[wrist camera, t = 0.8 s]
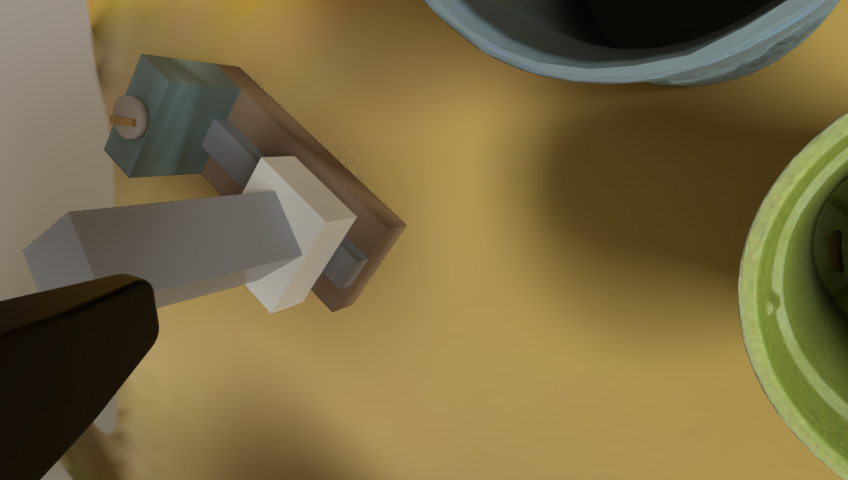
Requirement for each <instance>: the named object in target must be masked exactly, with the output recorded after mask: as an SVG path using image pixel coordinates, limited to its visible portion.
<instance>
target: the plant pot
mask: <svg viewBox="0 0 848 480" xmlns="http://www.w3.org/2000/svg"><path fill="white" fill-rule="evenodd" d="M838 230H839V231H841V233H842V235H841V255H842V262H843V266H844V272H842V273H840V272H838V271H836V270H834V269H833V268H832V265H831V261H830V253H829V248H828V242H829V239H828V238H829V236H830V235H832V233H833V232H834V231H838ZM738 311H739V318H740V325H741V331H742V336H743V340H744V344H745V348H746V351H747V354H748V357H749V360H750V363H751V365H752V368H753V370H754V372H755V375H756V377H757V379H758V381H759V383H760V385H761V387H762V389H763V391H764V392H765V394H766V396H767V397H768V399H769V401H770V402H771V404H772V405H773V407H774V408H775V410H776V412H777V413H778V415H779V416H780V417H781V418H782V419H783V421H784V422H785V424H786V425H787V426H788V427H789V429H790V430H791V431H792V432H793V433H794V434H795V436H796V437H797V438H798V439H799V440H800V441H801V442H802V443H803V444H804V445H805V446H806V447H807V448H808V449H809V450H810V451H811V452H812V453H813V454H814V455H815V456H816V457H817V458H818V459H820V460H821V461H822V462H823V463H824V464H826V465H827V466H828V467H829V468H831V469H832V470H833V471H834V472H835V473H837V474H838V475H839V476H840V477H842V478H843V479H844V480H848V111H847V112H846V113H844V114H843V115H842V116H840V117H839V118H837V119H836V120H835V121H833V122H832V123H831V124H829V125H828V126H827V127H826V128H825V129H824V130H822V131H821V132H820V133H819V134H817V135H816V136H815V137H814V138H813V139H812V140H811V141H810V142H809V143H808V144H807V145H806V146H805V147H804V148H803V149H802V150H801V151H800V152H799V153H798V154H797V155H796V156H795V157H794V158H793V159H792V160H791V161H790V163H789V164H788V165H787V166H786V167H785V169H784V170H783V171H782V172H781V174H780V175H779V177H778V178H777V179H776V181H775V182H774V183H773V185H772V186H771V188H770V190H769V191H768V193H767V194H766V196H765V197H764V199H763V201H762V203H761V205H760V206H759V208H758V210H757V213H756V215H755V217H754V220H753V222H752V224H751V227H750V229H749V232H748V235H747V238H746V241H745V245H744V249H743V253H742V257H741V262H740V270H739V278H738Z"/></svg>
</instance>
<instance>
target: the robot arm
mask: <svg viewBox="0 0 848 480" xmlns="http://www.w3.org/2000/svg"><path fill="white" fill-rule="evenodd" d="M158 333H159V322H158V315H157V308H156V302H155V295H154V289H153V287H152V285H151V283H150V282H148V281H147V280H145V279H142V278H139V277H136V276H133V275H130V274H116V275H111V276H107V277H103V278H98V279H94V280H90V281H85V282H81V283H77V284H72V285H68V286H64V287H60V288H55V289H51V290H47V291H42V292H39V293H34V294H30V295H25V296H21V297H16V298H12V299H8V300H3V301H0V480H40V479H41V478H42V477H43V476H44V475H45V474H46V473H47V472H48V471H49V470H50V469H51V468H52V467H53V465H54V464H55V463H56V462H57V461H58V460H59V459H60V458H61V457H62V456H63V455H64V454H65V453H66V452H67V451H68V450H69V449H70V447H71V446H72V445H73V444H74V443H75V442H76V441H77V440H78V439H79V438H80V437H81V435H82V434H83V433H84V432H85V431H86V430H87V429H88V427H89V426H90V425H91V424H92V423H93V421H94V420H95V419H96V418H97V416H98V415H99V414H100V413H101V411H102V410H103V409H104V408H105V406H106V405H107V404H108V402H109V401H110V400H111V399H112V397H113V396H114V395H115V393H116V392H117V391H118V390H119V388H120V387H121V386H122V385H123V383H124V382H125V381H126V379H127V378H128V377H129V376H130V374H131V373H132V372H133V370H134V369H135V368H136V367H137V365H138V364H139V363H140V362H141V360H142V359H143V358H144V356H145V355H146V354H147V353H148V351H149V350H150V349H151V347H152V346H153V345H154V343H155V341H156V339H157V337H158Z"/></svg>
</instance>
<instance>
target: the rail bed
mask: <svg viewBox="0 0 848 480" xmlns="http://www.w3.org/2000/svg"><path fill="white" fill-rule="evenodd" d="M110 123H114V126H113V128H112V131H111V133H110V136H109V138H108V141H107V144H106V146H105V148H104V150H105V152H106V153H107V154H108V155H109V156H110V157H111V158H112V159H113V161H114V162H115V163H116V164H117V165H118V166H119V167H120V168H121V169H122V171H123V172H124V173H125V174H126V175H127V176H128V177H129V178H132V177H149V176H166V175H183V174H200V173H201V174H202V175H203V176H204V177H205V179H206V180H207V181H208V182H209V183H210V184H211V185H212V186H213V187H214V188H215V189H216V190H217V191H218V192H219V193H220V194H221V195H222V196H229V195H239V194H242V193H243V191H244V189H245V187H246V185H247V183H248V181H249V179H250V178H251V176H252V174H253V172H254V170H255V168H256V166H257V164H258V162H259V160H260V159H261V157H283V156H295V157H296V158H297V159H298V160H299V161H300V162H301V163H302V164H303V165H304V166H305V167H306V168H307V169H308V170H309V171H310V172H311V173H312V174H313V175H315V176H316V177H317V178H318V179H319V180H320V181H321V182H322V183H323V184H324V185H325V186H326V187H327V188H328V189H329V190H330V191H331V192H332V193H333V194H334V195H335V196H336V197H337V198H338V199H339V200H340V201H341V202H342V203H343V204H344V205H345V206H346V207H348V208H349V209H350V210H351V211H352V212H353V213H354V214H355V215H356V216H357V218H356V219H355V221H354V223H353V224H352V226H351V227H350V229H349V230H348V232H347V233H346V235H345V237H344V238H343V240H342V241H341V243H340V244H339V246H338V248H337V249H336V251H335V252H334V254H333V255H332V257H331V259H330V260H329V262H328V263H327V265H326V266H325V268H324V269H323V271H322V273H321V274H320V276H319V277H318V279H317V280H316V282H315V284H314V285H313V287H312V288H311V290H312V291H313V292H314V293H315V294H316V295H317V297H318V298H319V299H320V300H321V301H322V302H323V303H324V304H325V305H326V306H327V307H328V308H329V309H330V310H331V311H332V312H334V311H337V310H340V309H342V308H345V307H347V306H350V305H352V304H353V302H354V301H355V299H356V298H357V297H358V295H359V294H360V292H361V291H362V289H363V288H364V286H365V285H366V283H367V282H368V281H369V279H370V278H371V276H372V275H373V273H374V272H375V270H376V269H377V267H378V266H379V265H380V263H381V262H382V260H383V259H384V257H385V256H386V254H387V253H388V251H389V250H390V249H391V247H392V246H393V244H394V243H395V241H396V240H397V238H398V237H399V235H400V234H401V233H402V231H403V230H404V228H405V227H406V224H405V223H404V222H403V221H402V220H400V219H399V218H398V217H397V216H396V215H395V214H394V213H393V212H392V211H391V210H390V209H389V208H388V207H387V206H386V205H385V204H383V203H382V202H381V201H380V200H379V199H378V198H377V197H376V196H375V195H374V194H373V193H372V192H371V191H370V190H369V189H368V188H367V187H365V186H364V185H363V184H362V183H361V182H360V181H359V180H358V179H357V178H356V177H355V176H354V175H353V174H352V173H351V172H350V171H349V170H347V169H346V168H345V167H344V166H343V165H342V164H341V163H340V162H339V161H338V160H337V159H336V158H335V157H334V156H333V155H332V154H331V153H329V152H328V151H327V150H326V149H325V148H324V147H323V146H322V145H321V144H320V143H319V142H318V141H317V140H316V139H315V138H314V137H312V136H311V135H310V134H309V133H308V132H307V131H306V130H305V129H304V128H303V127H302V126H301V125H300V124H299V123H298V122H297V121H296V120H294V119H293V118H292V117H291V116H290V115H289V114H288V113H287V112H286V111H285V110H284V109H283V108H282V107H281V106H280V105H279V104H278V103H276V102H275V101H274V100H273V99H272V98H271V97H270V96H269V95H268V94H267V93H266V92H265V91H264V90H263V89H262V88H261V87H260V86H258V85H257V84H256V83H255V82H254V81H253V80H252V79H251V78H250V77H249V76H248V75H247V74H246V73H245V72H244V71H243V70H241V69H240V68H239V67H234V66H226V65H219V64H212V63H204V62H197V61H189V60H182V59H175V58H167V57H160V56H152V55H145V54H141V57H140V59H139V62H138V64H137V67H136V70H135V72H134V75H133V77H132V80H131V82H130V85H129V87H128V90H127V92H126V95H125V96H122V97H120V98H119V99H118V100H117V102H116V103H115V106H114V110H113V116H110Z"/></svg>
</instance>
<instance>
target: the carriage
mask: <svg viewBox="0 0 848 480" xmlns="http://www.w3.org/2000/svg"><path fill="white" fill-rule="evenodd" d="M356 218H357V216H356V215H355V214H354V213H353V212H352V211H351V210H350V209H349V208H348V207H346V206H345V205H344V204H343V203H342V202H341V201H340V200H339V199H338V198H337V197H336V196H335V195H334V194H333V193H332V192H331V191H330V190H329V189H328V188H327V187H326V186H325V185H324V184H323V183H322V182H321V181H320V180H319V179H318V178H317V177H316V176H315V175H313V174H312V173H311V172H310V171H309V170H308V169H307V168H306V167H305V166H304V165H303V164H302V163H301V162H300V161H299V160H298V159H297V158H296V157H295V156H283V157H261V159H260V160H259V162H258V164H257V166H256V168H255V170H254V172H253V174H252V176H251V178H250V179H249V181H248V183H247V185H246V187H245V189H244V191H243V193H242V194H239V195H229V196H219V197H209V198H200V199H190V200H180V201H170V202H161V203H151V204H141V205H131V206H122V207H112V208H102V209H93V210H83V211H73V212H68V213H66V214H65V215H64V216H63V217H62V218H61V219H59V220H58V221H57V222H56V223H55V224H53V225H52V226H51V227H50V228H49V229H48V230H47V231H45V232H44V233H43V234H42V235H41V236H39V237H38V238H37V239H36V240H35V241H33V242H32V243H31V244H30V245H29V246H28V247H26V248H25V249H24V250H23V252H24V255H25V257H26V259H27V262H28V265H29V267H30V270H31V272H32V275H33V277H34V280H35V283H36V285H37V288H38V290H39V292H42V291H47V290H51V289H55V288H60V287H64V286H68V285H72V284H77V283H81V282H85V281H90V280H94V279H98V278H103V277H107V276H111V275H116V274H130V275H133V276H136V277H139V278H142V279H145V280H147V281H148V282H150V283H151V285H152V287H153V289H154V295H155V302H156V308H160V307H163V306H167V305H171V304H174V303H178V302H182V301H185V300H189V299H193V298H196V297H200V296H204V295H207V294H211V293H215V292H218V291H222V290H225V289H229V288H233V287H236V286H240V285H245V286H246V287H247V288H248V289H249V290H250V291H251V292H252V293H253V295H254V296H255V297H256V298H257V299H258V300H259V301H260V302H261V303H262V304H263V306H264V307H265V308H266V309H267V310H268V311H269V312H270V313H274V312H276V311H279V310H282V309H285V308H288V307H291V306H294V305H297V304H300V303H302V302H303V301H304V299H305V298H306V296H307V295H308V293H309V291H310V290H311V288H312V287H313V285H314V284H315V282H316V280H317V279H318V277H319V276H320V274H321V273H322V271H323V269H324V268H325V266H326V265H327V263H328V262H329V260H330V259H331V257H332V255H333V254H334V252H335V251H336V249H337V248H338V246H339V244H340V243H341V241H342V240H343V238H344V237H345V235H346V233H347V232H348V230H349V229H350V227H351V226H352V224H353V223H354V221H355V219H356Z"/></svg>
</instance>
